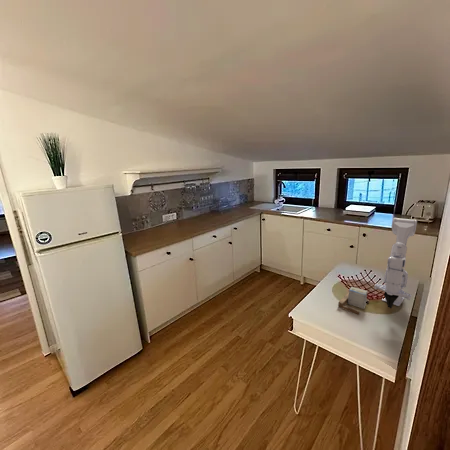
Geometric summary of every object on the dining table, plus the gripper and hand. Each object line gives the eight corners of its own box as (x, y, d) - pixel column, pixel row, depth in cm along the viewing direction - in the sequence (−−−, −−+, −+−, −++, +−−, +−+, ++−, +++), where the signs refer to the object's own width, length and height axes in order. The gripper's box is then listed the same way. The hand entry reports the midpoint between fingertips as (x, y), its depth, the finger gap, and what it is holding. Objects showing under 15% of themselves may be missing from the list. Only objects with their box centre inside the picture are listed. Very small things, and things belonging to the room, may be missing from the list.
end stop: (349, 295, 141) (350, 290, 140) (369, 302, 134) (369, 297, 133) (338, 306, 133) (338, 301, 132) (358, 315, 125) (358, 310, 124)
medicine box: (366, 305, 132) (367, 290, 130) (363, 309, 129) (365, 294, 127) (350, 300, 137) (351, 286, 135) (347, 304, 134) (348, 289, 132)
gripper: (373, 279, 119) (370, 304, 123) (410, 290, 108) (405, 317, 112) (378, 273, 123) (375, 297, 127) (414, 284, 113) (410, 310, 117)
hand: (389, 306), depth 120 cm, fingers closed
